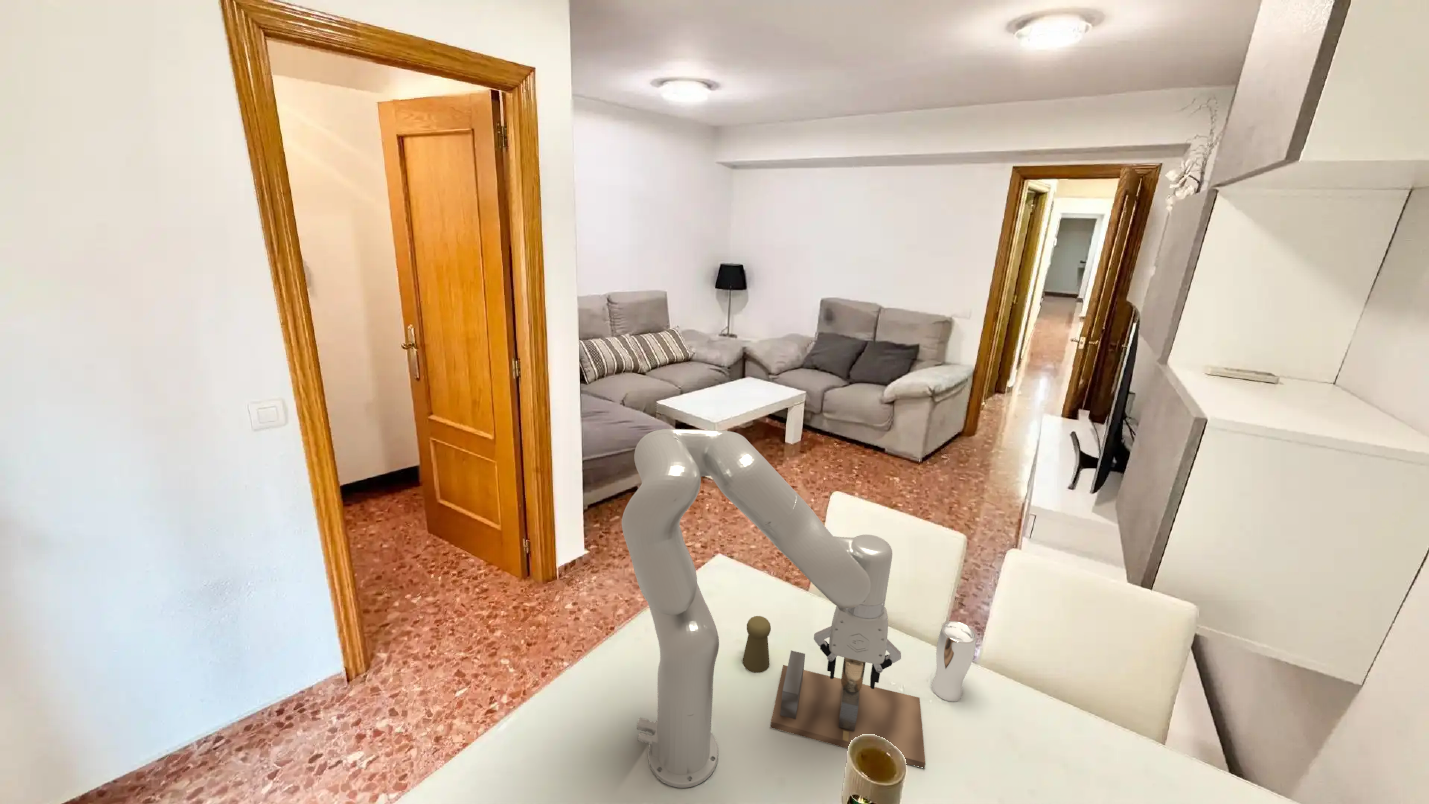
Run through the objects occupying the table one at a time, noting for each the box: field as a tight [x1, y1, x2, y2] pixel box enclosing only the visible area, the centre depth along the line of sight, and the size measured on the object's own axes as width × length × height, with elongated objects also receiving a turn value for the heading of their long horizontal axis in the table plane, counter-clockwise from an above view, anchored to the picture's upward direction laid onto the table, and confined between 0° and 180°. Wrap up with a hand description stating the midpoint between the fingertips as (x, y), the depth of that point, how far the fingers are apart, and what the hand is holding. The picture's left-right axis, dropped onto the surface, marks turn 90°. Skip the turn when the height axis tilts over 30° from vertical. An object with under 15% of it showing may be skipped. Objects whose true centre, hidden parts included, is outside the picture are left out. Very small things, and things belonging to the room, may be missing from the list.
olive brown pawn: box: [741, 615, 772, 674], centre depth 120 cm, size 6×6×11 cm
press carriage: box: [839, 657, 867, 731], centre depth 107 cm, size 4×10×12 cm, turn 164°
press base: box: [769, 650, 926, 769], centre depth 108 cm, size 28×15×8 cm, turn 74°
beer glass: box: [930, 620, 978, 703], centre depth 114 cm, size 7×7×15 cm
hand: (852, 677), depth 106 cm, fingers open, 7 cm apart
